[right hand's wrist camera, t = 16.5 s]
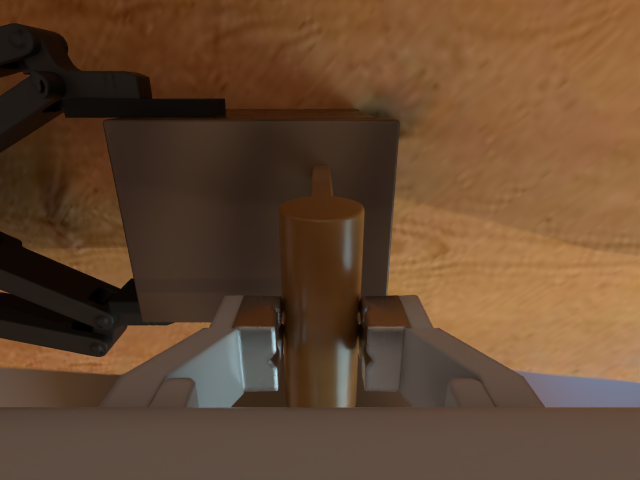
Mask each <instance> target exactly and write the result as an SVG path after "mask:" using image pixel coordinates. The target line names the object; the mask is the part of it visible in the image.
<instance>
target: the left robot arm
mask: <svg viewBox="0 0 640 480" xmlns="http://www.w3.org/2000/svg"><path fill="white" fill-rule="evenodd" d="M67 53H68V46H67V42H66V41H65V39H64V38H63V37H62V36H61V35H60V34H58V33H55V32H52V31H47V30H43V29H39V28H34V27H30V26H26V25H21V24H17V23H13V24H8V25H5V26H1V27H0V78H1V77H5V76H8V75H11V74H15V73H18V72H21V71H23V73H24V74H30V75H31V76H29V77H28V78H26V79H25V80H23V81H22V82H20V83H19V84H17V85H16V86H14V87H13V88H11V89H10V90H8V91H7V92H5V93H4V94H2V95H1V96H0V153H1V152H2V151H4V150H6V149H7V148H9V147H10V146H12V145H13V144H15V143H16V142H18V141H20V140H21V139H23V138H24V137H26V136H27V135H29V134H30V133H32V132H34V131H35V130H37V129H38V128H40V127H41V126H43V125H44V124H46V123H48V122H49V121H51V120H52V119H54V118H55V117H57V116H58V115H60V114H62V113H63V112H64V113H65V117H66V118H122V117H214V116H219V115H223V114H226V109H225V99H152V93H151V86H150V79H149V77H147V76H144V75H142V74H139V73H134V72H125V71H81V70H79V69H77V68H76V67H75V66H74V65H73V63H72V62H71V60H70V58H69V57H68V55H67ZM28 69H29V70H28ZM0 290H3V291H5V292H8V293H2V292H0V338H3V339H8V340H14V341H19V342H24V343H29V344H34V345H39V346H44V347H49V348H54V349H59V350H65V351H70V352H75V353H80V354H85V355H90V356H95V357H102V356H104V355H105V354H106V353H107V352H108V351H109V350H110V349H111V347H112V346H113V345H114V344H115V342H116V341H117V340H118V339H119V337H120V336H121V335H122V334H123V332H124V331H125V330H126V328H127V325H169V324H172V323H175V322H143V321H142V318H141V312H140V307H139V302H138V297H137V292H136V287H135V282H134V279H130V280H129V281H128V282H127V283H126V284H125V285H124V286H123V287H122V288H121V289H120V288H117V287H115V286H113V285H110V284H108V283H106V282H103V281H101V280H99V279H96V278H94V277H92V276H89V275H87V274H85V273H82V272H80V271H78V270H75V269H73V268H70V267H68V266H66V265H63V264H61V263H59V262H56V261H54V260H52V259H49V258H47V257H45V256H42V255H40V254H38V253H35V252H33V251H31V250H28V249H26V248H24V247H23V246H22V242H21V241H20V240H18V239H16V238H14V237H12V236H9V235H7V234H5V233H2V232H0ZM9 293H10V294H9Z"/></svg>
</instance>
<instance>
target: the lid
mask: <svg viewBox="0 0 640 480" xmlns="http://www.w3.org/2000/svg"><path fill="white" fill-rule="evenodd" d="M103 126H104V131H105V136H106V141H107V146H108V151H109V156H110V161H111V166H112V171H113V176H114V181H115V186H116V191H117V197H118V202H119V207H120V212H121V217H122V222H123V227H124V232H125V237H126V242H127V247H128V252H129V257H130V262H131V267H132V272H133V277H134V282H135V287H136V292H137V297H138V302H139V307H140V312H141V318H142V321H143V322H212V321H213V319H214V317H215V315H216V313H217V310H218V308H219V306H220V304H221V302H222V300H223V298H224V297H225V296H227V295H244V296H245V295H248V296H282V303H283V314H282V320H281V322H283V325H284V361H285V386H286V404H287V407H355V404H356V387H357V366H358V333H359V323H361V318H360V312H359V308H360V297H361V296H387V288H388V275H389V261H390V248H391V234H392V221H393V207H394V194H395V180H396V167H397V153H398V140H399V126H400V122H399V120H396V119H184V118H115V119H107V120H103Z"/></svg>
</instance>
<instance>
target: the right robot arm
mask: <svg viewBox="0 0 640 480" xmlns="http://www.w3.org/2000/svg"><path fill="white" fill-rule="evenodd" d="M359 312H360V318H361V323H360V324H359V333H358V345H359V356H360V360H361V361H362V376H363V382H364V388H365V391H396V392H399V394H400V395H401V396H402V397H403V398H404V399H405V400H406V401H407V402H408V403H409V404H410V405H411V406H412V407H231V406H232V405H233V404H234V403H235V402H236V401H237V400H238V399H239V398H240V397H241V395H242V394H243V392H247V391H277V390H278V385H279V379H280V362H281V361H282V358H283V347H284V325H283V324H282V323H281V320H282V314H283V303H282V296H248V295H245V296H244V295H227V296H225V297H224V298H223V300H222V302H221V304H220V306H219V308H218V310H217V313H216V315H215V317H214V319H213V321H212V323H211V325H210V327H209V328H203V329H201V330H200V331H198V332H196V333H194V334H193V335H191V336H189V337H188V338H186V339H184V340H182V341H181V342H179V343H177V344H175V345H174V346H172V347H170V348H169V349H167V350H165V351H163V352H162V353H160V354H158V355H156V356H155V357H153V358H151V359H149V360H148V361H146V362H144V363H143V364H141V365H139V366H137V367H136V368H134V369H132V370H130V371H129V372H127V373H125V374H124V375H122V376H120V378H119V379H118V381H117V382H116V383H115V385H114V386H113V388H112V389H111V390H110V392H109V393H108V395H107V396H106V398H105V399H104V400H103V402H102V403H101V404H100V406H99V407H0V480H640V407H545V406H544V405H543V403H542V402H541V401H540V399H539V398H538V396H537V395H536V394H535V392H534V391H533V389H532V388H531V387H530V385H529V384H528V382H527V381H526V380H525V378H524V377H523V376H521V375H520V374H518V373H516V372H514V371H513V370H511V369H509V368H507V367H506V366H504V365H502V364H500V363H499V362H497V361H495V360H493V359H492V358H490V357H488V356H487V355H485V354H483V353H481V352H480V351H478V350H476V349H474V348H473V347H471V346H469V345H467V344H466V343H464V342H462V341H460V340H459V339H457V338H455V337H454V336H452V335H450V334H448V333H447V332H445V331H443V330H441V329H440V328H433V326H432V324H431V322H430V320H429V318H428V316H427V314H426V312H425V310H424V308H423V306H422V304H421V302H420V299H419V297H418V296H416V295H403V296H398V295H396V296H361V297H360V308H359Z"/></svg>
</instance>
